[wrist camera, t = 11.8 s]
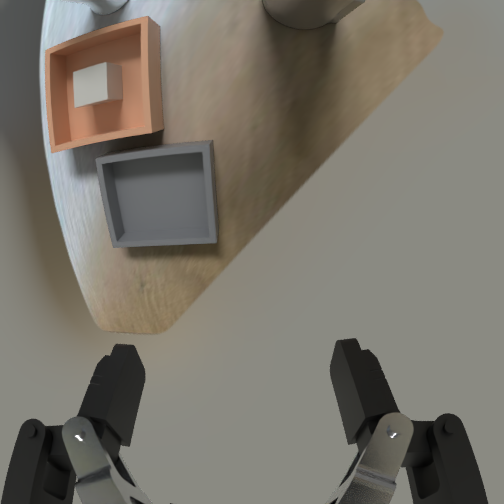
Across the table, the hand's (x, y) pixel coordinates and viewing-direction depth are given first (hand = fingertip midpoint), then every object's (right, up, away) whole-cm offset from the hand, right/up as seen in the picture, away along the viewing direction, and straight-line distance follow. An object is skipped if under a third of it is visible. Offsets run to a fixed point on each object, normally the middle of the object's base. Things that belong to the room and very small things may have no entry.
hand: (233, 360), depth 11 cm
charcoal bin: (-11, +12, +25) cm, 30 cm away
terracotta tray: (-17, +25, +18) cm, 35 cm away
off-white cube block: (-17, +25, +17) cm, 34 cm away
